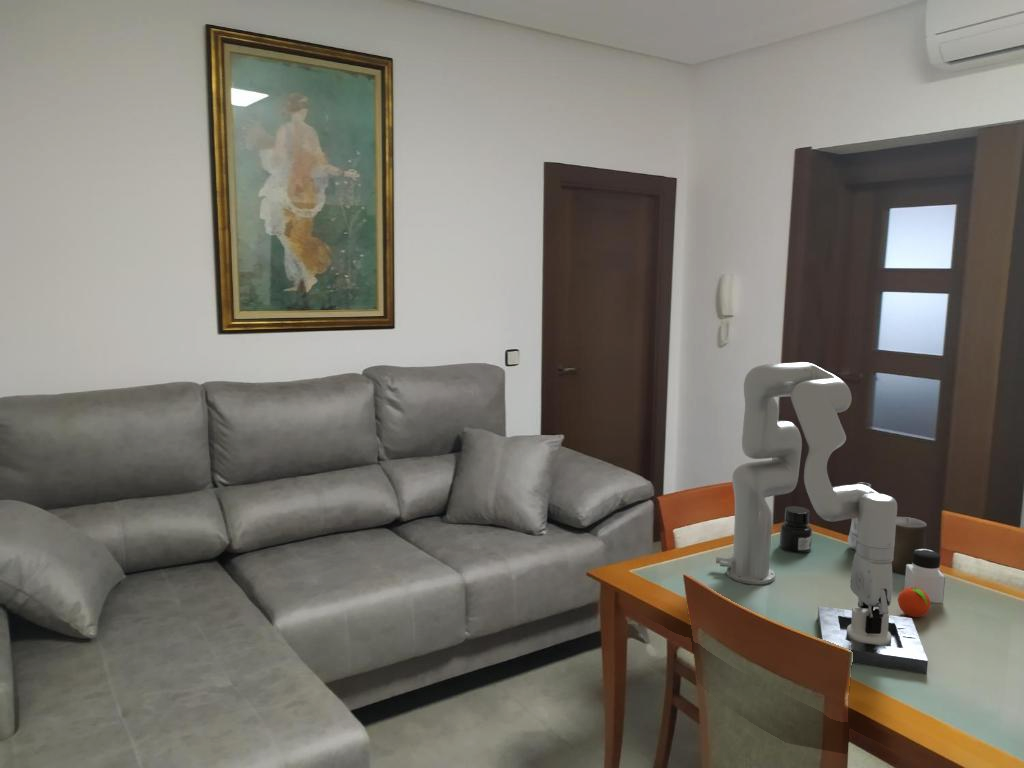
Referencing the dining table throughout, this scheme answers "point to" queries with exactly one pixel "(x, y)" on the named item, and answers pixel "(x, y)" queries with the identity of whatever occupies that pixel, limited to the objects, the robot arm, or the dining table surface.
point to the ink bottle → (796, 530)
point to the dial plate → (897, 656)
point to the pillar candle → (907, 542)
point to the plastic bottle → (854, 528)
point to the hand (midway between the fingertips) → (869, 628)
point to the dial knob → (859, 625)
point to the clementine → (914, 602)
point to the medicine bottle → (926, 574)
